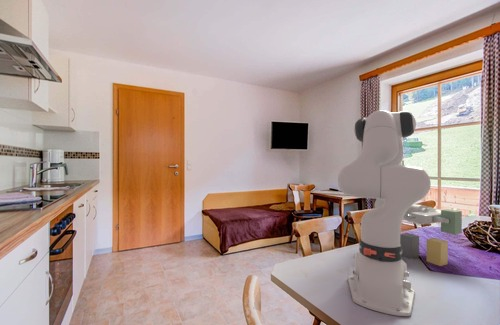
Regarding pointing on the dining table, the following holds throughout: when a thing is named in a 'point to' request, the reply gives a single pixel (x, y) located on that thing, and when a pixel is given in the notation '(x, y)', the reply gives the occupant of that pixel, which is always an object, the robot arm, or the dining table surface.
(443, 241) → the mustard brick
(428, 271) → the dining table surface
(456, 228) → the sage green brick
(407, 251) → the charcoal brick
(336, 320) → the dining table surface
